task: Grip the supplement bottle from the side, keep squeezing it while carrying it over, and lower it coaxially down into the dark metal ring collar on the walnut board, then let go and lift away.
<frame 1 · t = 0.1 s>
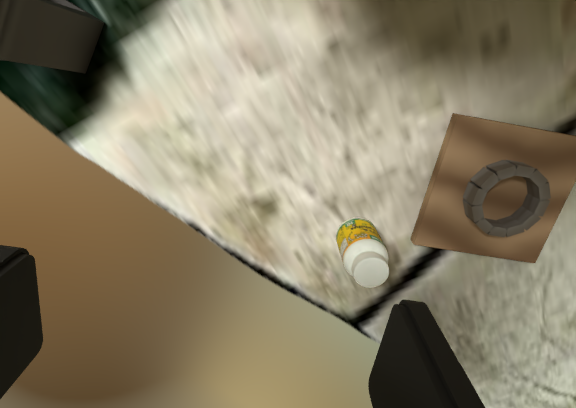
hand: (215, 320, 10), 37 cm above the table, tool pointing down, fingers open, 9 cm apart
collar board: (493, 191, 48), on the table
supplement bottle: (355, 233, 50), on the table
phone stand: (57, 25, 40), on the table
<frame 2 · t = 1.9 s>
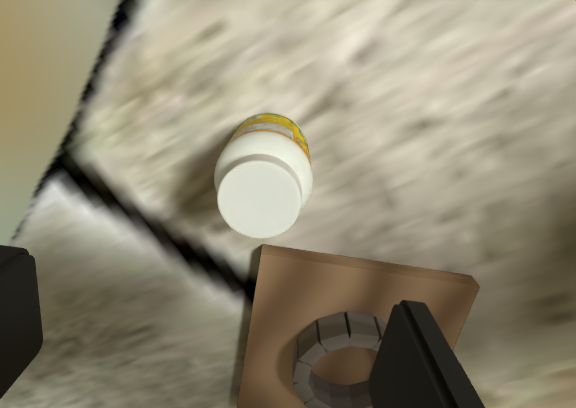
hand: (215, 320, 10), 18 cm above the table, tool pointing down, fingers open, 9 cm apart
collar board: (344, 342, 33), on the table
supplement bottle: (270, 149, 26), on the table
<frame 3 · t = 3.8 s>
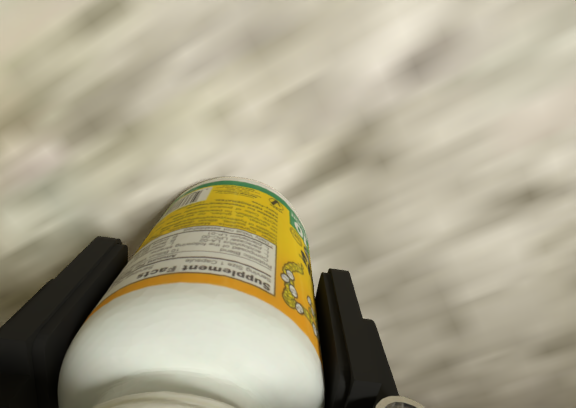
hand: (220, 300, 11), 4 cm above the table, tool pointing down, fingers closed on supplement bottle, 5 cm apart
supplement bottle: (236, 239, 14), on the table, touching gripper
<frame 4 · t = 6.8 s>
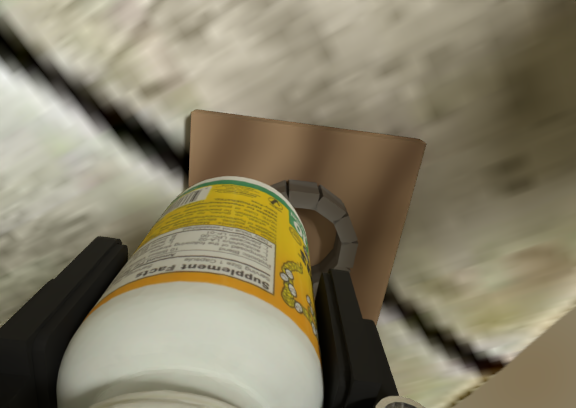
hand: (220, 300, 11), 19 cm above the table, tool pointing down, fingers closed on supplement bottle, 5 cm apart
collar board: (294, 226, 31), on the table
supplement bottle: (236, 239, 14), point 16 cm above the table, touching gripper
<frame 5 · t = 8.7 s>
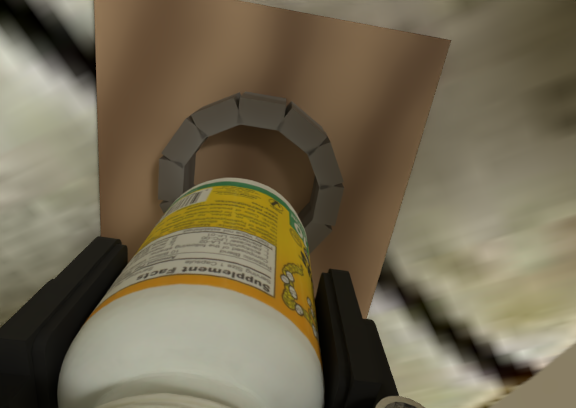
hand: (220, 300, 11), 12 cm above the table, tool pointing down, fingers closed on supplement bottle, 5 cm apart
collar board: (256, 169, 22), on the table
supplement bottle: (236, 240, 14), point 9 cm above the table, touching gripper
when the fingers open (6 cm above the table, at t = 10.3 s): supplement bottle stays where it is, resting on collar board.
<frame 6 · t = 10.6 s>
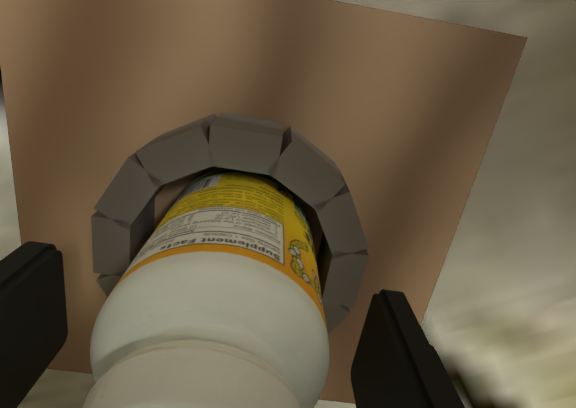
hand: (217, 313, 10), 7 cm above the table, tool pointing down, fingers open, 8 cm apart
collar board: (242, 215, 16), on the table
supplement bottle: (242, 226, 15), point 1 cm above the table, touching collar board
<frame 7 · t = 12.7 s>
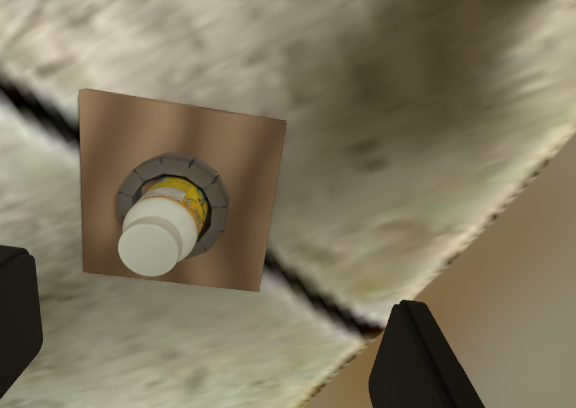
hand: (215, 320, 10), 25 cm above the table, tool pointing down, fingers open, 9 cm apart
collar board: (182, 196, 35), on the table
supplement bottle: (180, 200, 34), point 1 cm above the table, touching collar board
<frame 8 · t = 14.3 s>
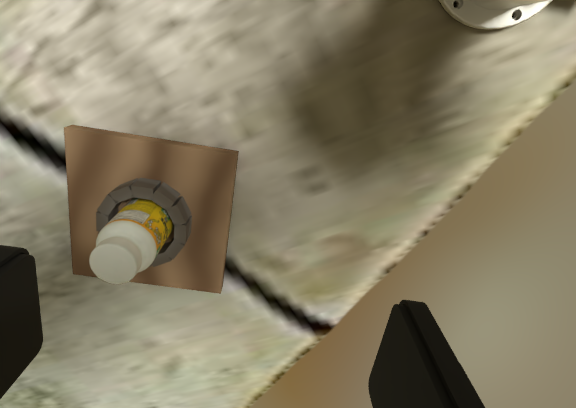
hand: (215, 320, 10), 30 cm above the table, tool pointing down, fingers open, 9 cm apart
collar board: (154, 212, 42), on the table
supplement bottle: (151, 216, 40), point 1 cm above the table, touching collar board
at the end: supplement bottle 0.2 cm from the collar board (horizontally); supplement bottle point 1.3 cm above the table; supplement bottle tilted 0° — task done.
